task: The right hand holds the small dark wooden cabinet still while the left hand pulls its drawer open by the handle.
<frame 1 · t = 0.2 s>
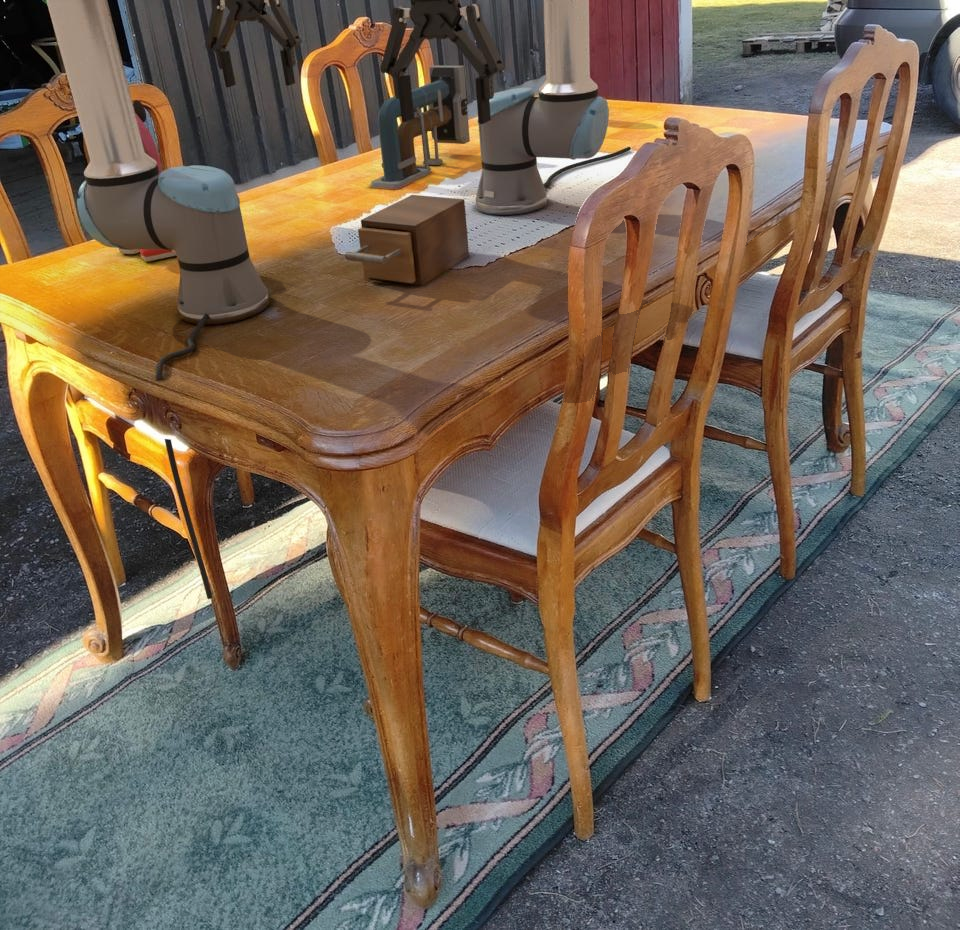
left hand: (260, 85, 196), 28 cm above the table, tool pointing down, fingers open, 13 cm apart
right hand: (445, 121, 151), 28 cm above the table, tool pointing down, fingers open, 13 cm apart
clamp: (421, 170, 240), on the table
aerosol can: (574, 120, 278), on the table
cabinet: (419, 267, 177), on the table
toy: (153, 252, 197), on the table
drawer: (399, 248, 171), point 5 cm above the table, slide at 0.7 cm
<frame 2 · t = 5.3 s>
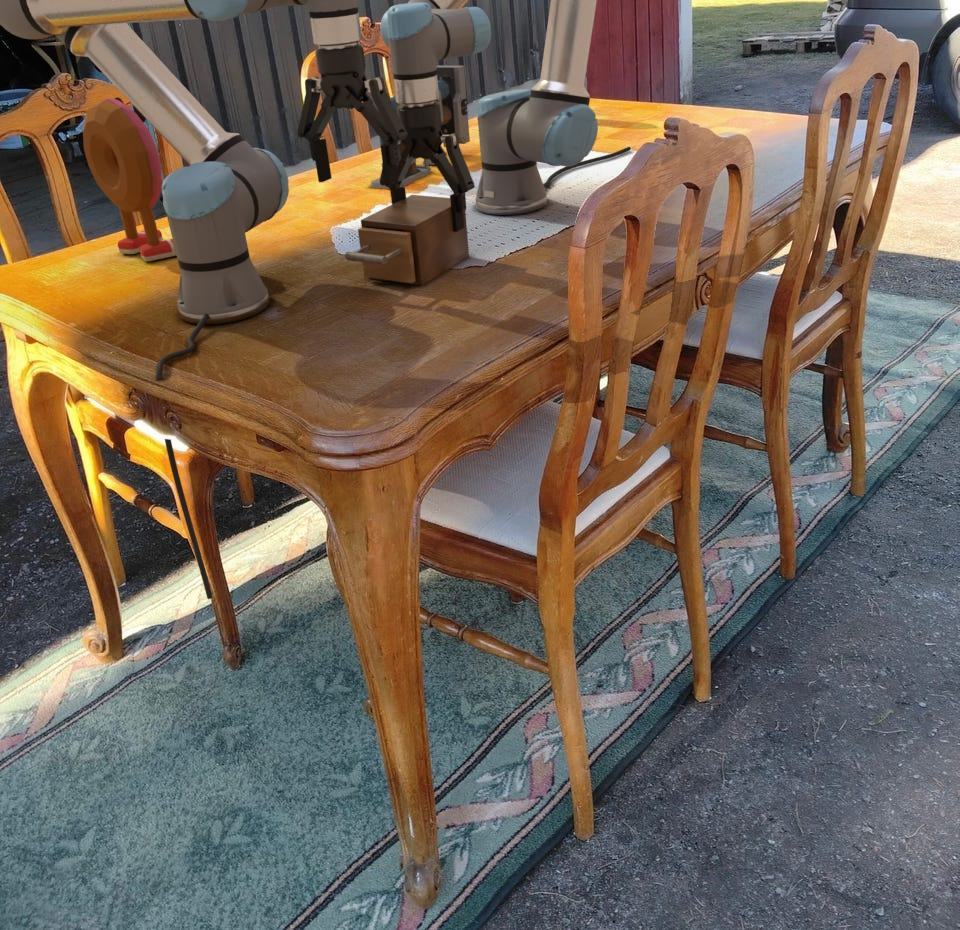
left hand: (358, 182, 161), 18 cm above the table, tool pointing down, fingers open, 13 cm apart
right hand: (430, 226, 178), 6 cm above the table, tool pointing down, fingers closed on cabinet, 11 cm apart
cabinet: (419, 267, 177), on the table, touching right hand
everything else where it was.
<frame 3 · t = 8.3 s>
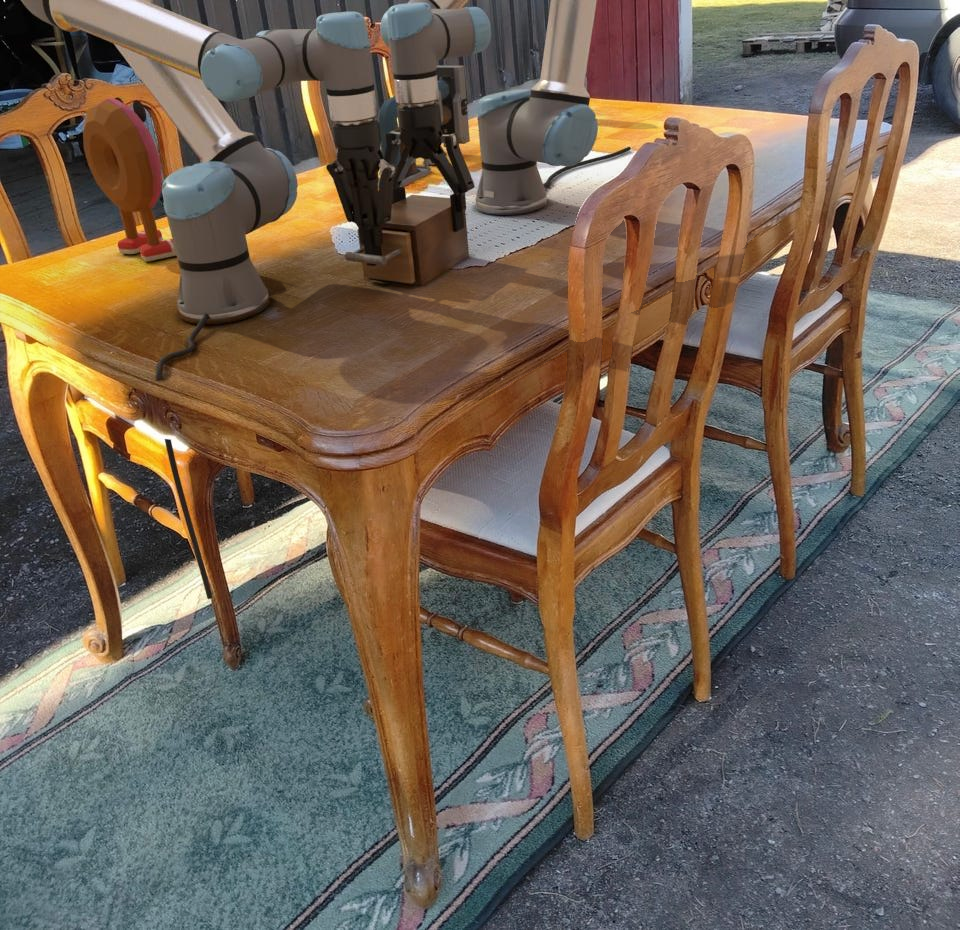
left hand: (374, 263, 165), 5 cm above the table, tool pointing down, fingers closed
right hand: (430, 226, 178), 6 cm above the table, tool pointing down, fingers closed on cabinet, 11 cm apart
cabinet: (419, 267, 177), on the table, touching right hand
drawer: (399, 248, 171), point 5 cm above the table, slide at 0.8 cm, touching left hand
everything else where it was.
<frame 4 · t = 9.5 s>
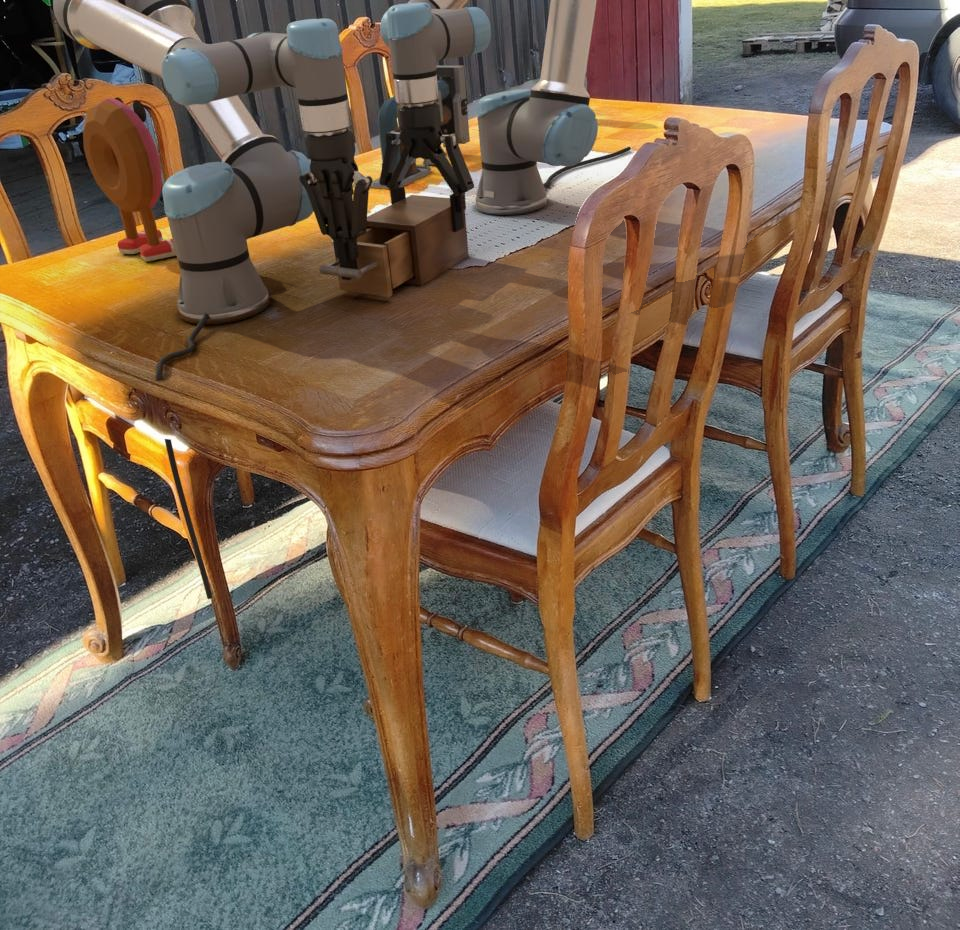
left hand: (350, 276, 160), 5 cm above the table, tool pointing down, fingers closed
right hand: (430, 226, 178), 6 cm above the table, tool pointing down, fingers closed on cabinet, 11 cm apart
cabinet: (419, 267, 177), on the table, touching right hand
drawer: (376, 260, 166), point 5 cm above the table, slide at 7.6 cm, touching left hand
everything else where it was.
when the right hand's fingers open (6 cm above the table, at t = 11.4 s): cabinet stays where it is, on the table.
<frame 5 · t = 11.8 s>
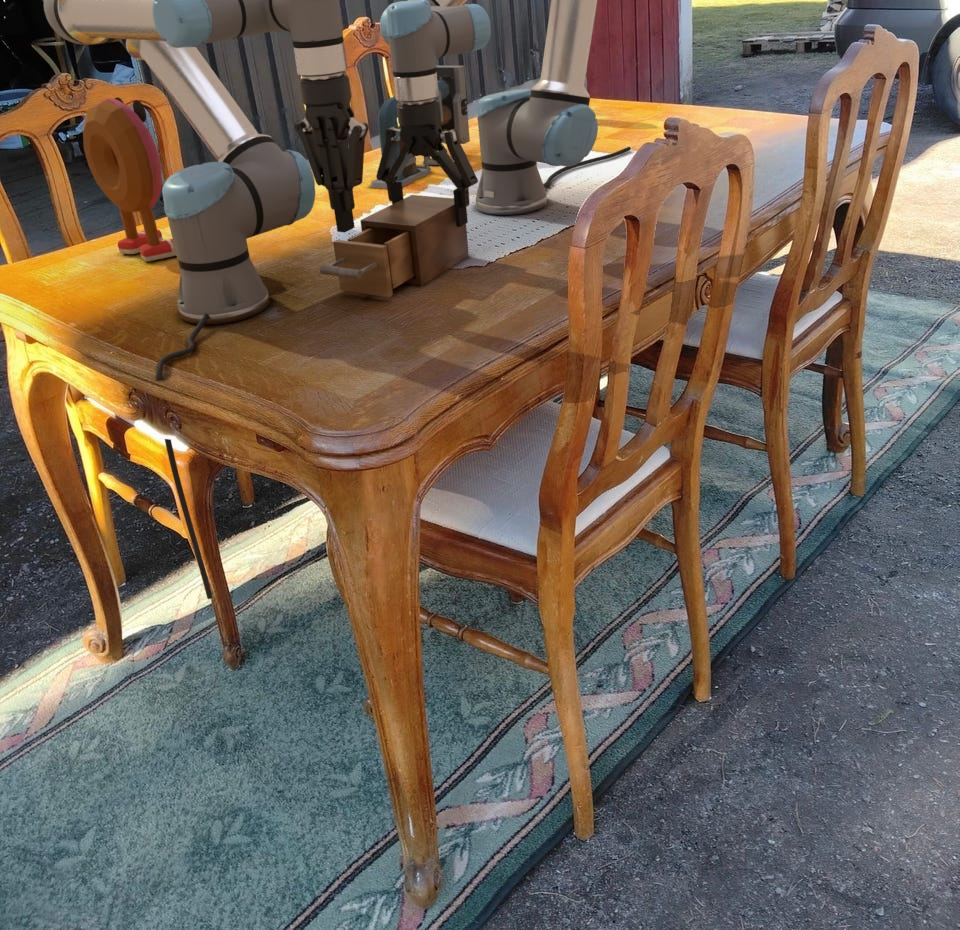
left hand: (346, 229, 157), 13 cm above the table, tool pointing down, fingers closed
right hand: (430, 221, 177), 7 cm above the table, tool pointing down, fingers open, 13 cm apart
cabinet: (419, 267, 177), on the table
drawer: (376, 261, 166), point 5 cm above the table, slide at 7.7 cm
everything else where it was.
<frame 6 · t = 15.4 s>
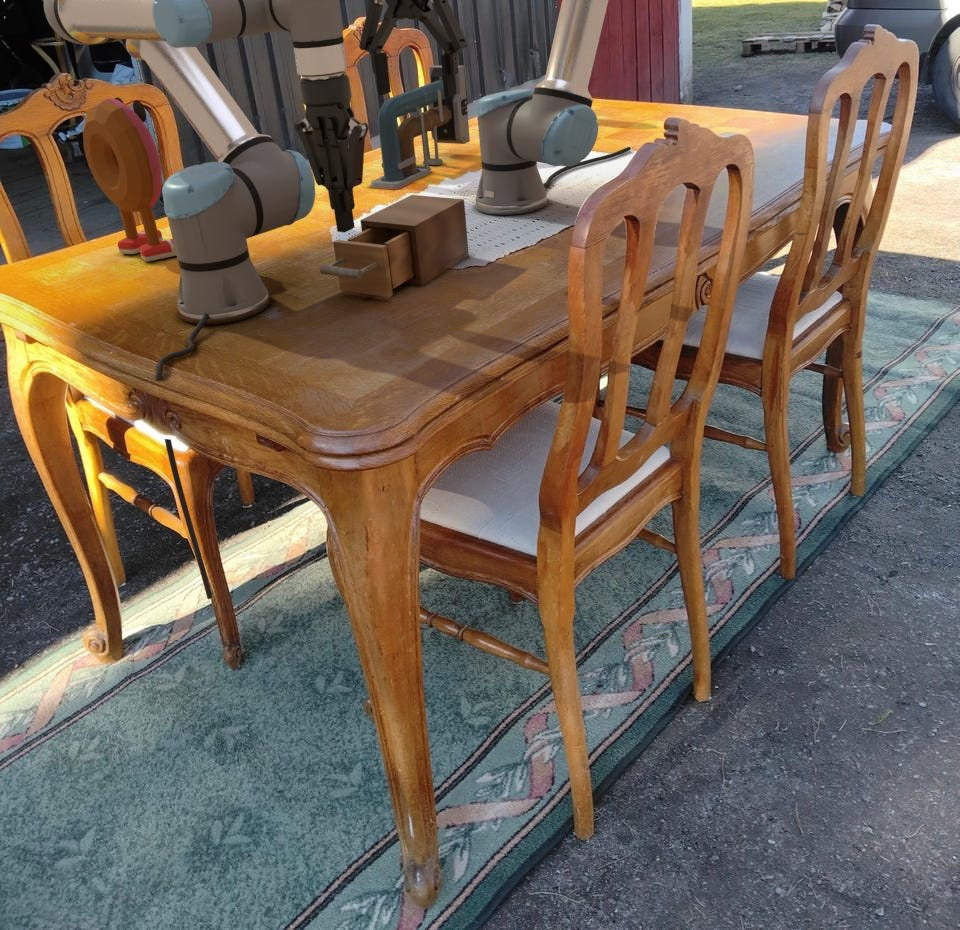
left hand: (346, 229, 157), 13 cm above the table, tool pointing down, fingers closed
right hand: (417, 94, 166), 29 cm above the table, tool pointing down, fingers open, 13 cm apart
nothing on the table moved.
at the end: drawer slide at 7.7 cm; cabinet tilted 0°; cabinet never tilted more than 1° during the clip; cabinet moved 0.1 cm from its start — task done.
